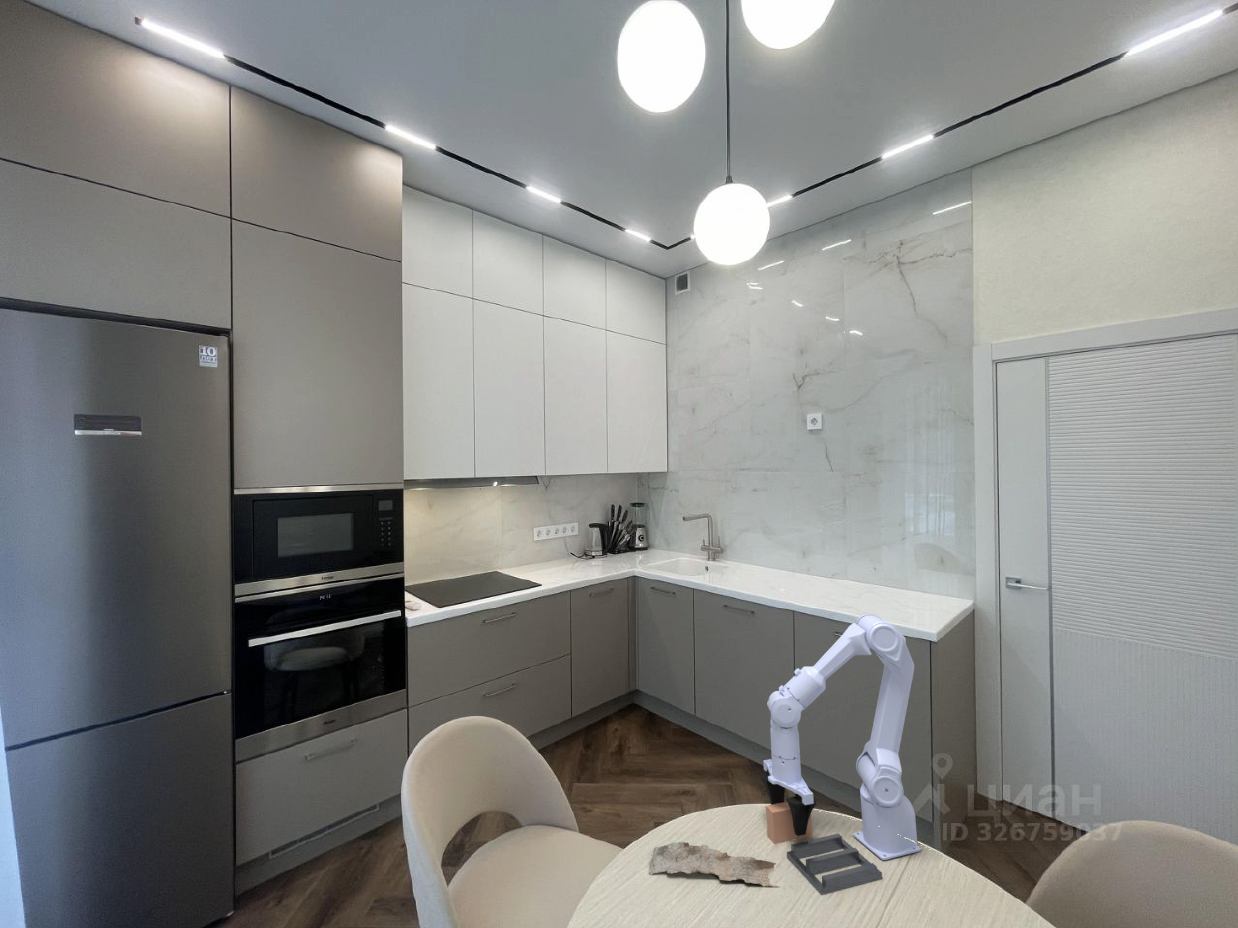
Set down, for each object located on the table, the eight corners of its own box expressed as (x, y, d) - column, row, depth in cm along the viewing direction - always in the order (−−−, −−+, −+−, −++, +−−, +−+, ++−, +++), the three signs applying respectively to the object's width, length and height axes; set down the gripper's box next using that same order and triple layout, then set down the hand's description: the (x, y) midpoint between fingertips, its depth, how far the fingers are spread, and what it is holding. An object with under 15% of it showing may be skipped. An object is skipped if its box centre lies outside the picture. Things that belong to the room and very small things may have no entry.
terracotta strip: (804, 828, 104) (803, 798, 105) (812, 835, 102) (810, 804, 103) (767, 836, 102) (765, 805, 102) (774, 844, 99) (772, 812, 100)
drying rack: (843, 844, 99) (842, 832, 99) (882, 878, 89) (881, 865, 90) (787, 857, 95) (786, 845, 96) (821, 894, 86) (820, 880, 86)
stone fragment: (647, 856, 98) (649, 893, 88) (646, 840, 98) (648, 876, 88) (775, 853, 98) (791, 890, 88) (774, 837, 98) (790, 873, 88)
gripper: (750, 741, 109) (753, 806, 108) (789, 773, 96) (793, 848, 94) (778, 736, 111) (781, 801, 110) (820, 767, 98) (825, 841, 96)
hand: (788, 822), depth 102 cm, fingers open, 7 cm apart
